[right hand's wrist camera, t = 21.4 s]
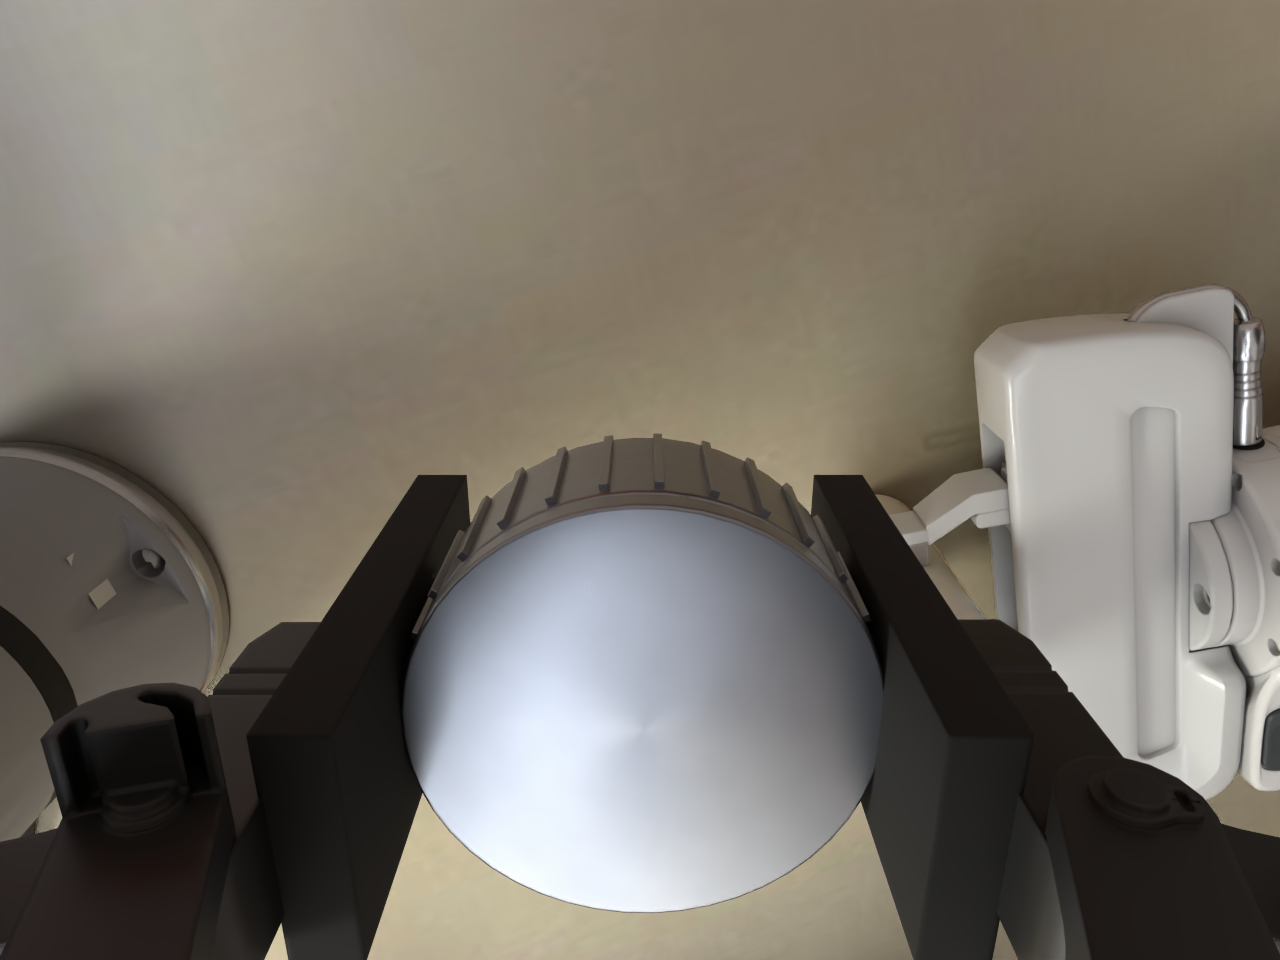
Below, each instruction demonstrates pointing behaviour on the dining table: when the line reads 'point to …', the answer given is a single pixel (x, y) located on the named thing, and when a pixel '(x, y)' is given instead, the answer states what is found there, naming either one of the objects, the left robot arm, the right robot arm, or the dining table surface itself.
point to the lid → (643, 680)
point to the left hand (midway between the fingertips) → (882, 617)
